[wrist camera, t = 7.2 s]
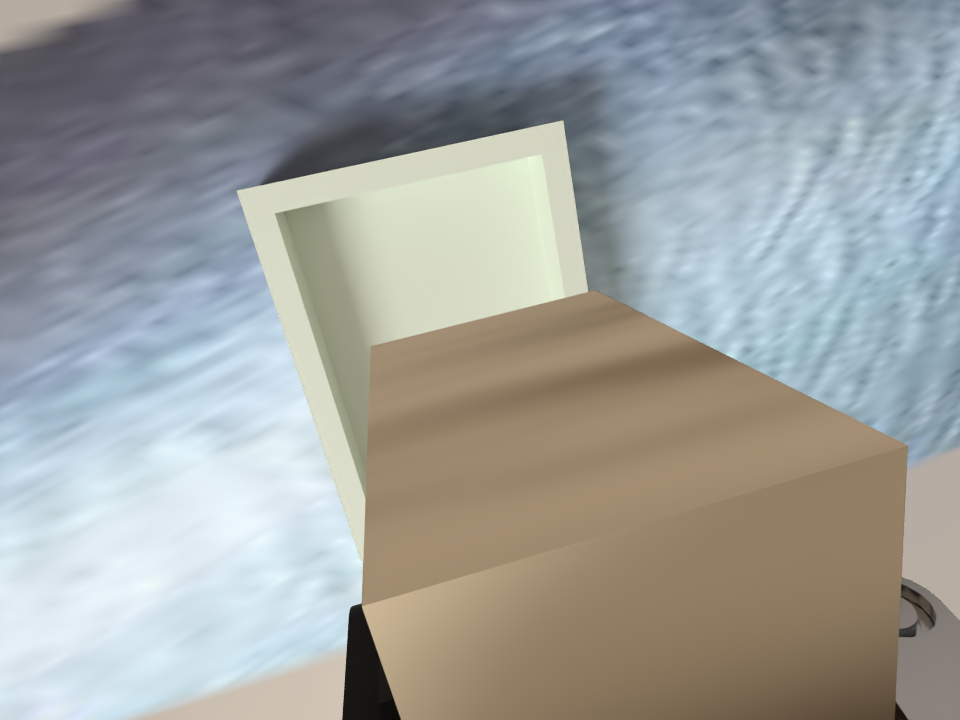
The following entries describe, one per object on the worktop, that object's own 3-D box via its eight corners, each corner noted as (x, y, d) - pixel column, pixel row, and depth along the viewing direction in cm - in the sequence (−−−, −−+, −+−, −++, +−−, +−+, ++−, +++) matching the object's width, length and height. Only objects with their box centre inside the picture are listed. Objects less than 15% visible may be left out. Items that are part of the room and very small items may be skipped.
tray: (362, 523, 28) (361, 561, 25) (253, 189, 23) (236, 190, 20) (593, 458, 29) (617, 487, 26) (540, 127, 24) (563, 120, 21)
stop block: (370, 346, 11) (361, 606, 4) (595, 289, 11) (908, 445, 5) (470, 693, 14) (557, 1167, 7) (645, 638, 14) (879, 1036, 8)
